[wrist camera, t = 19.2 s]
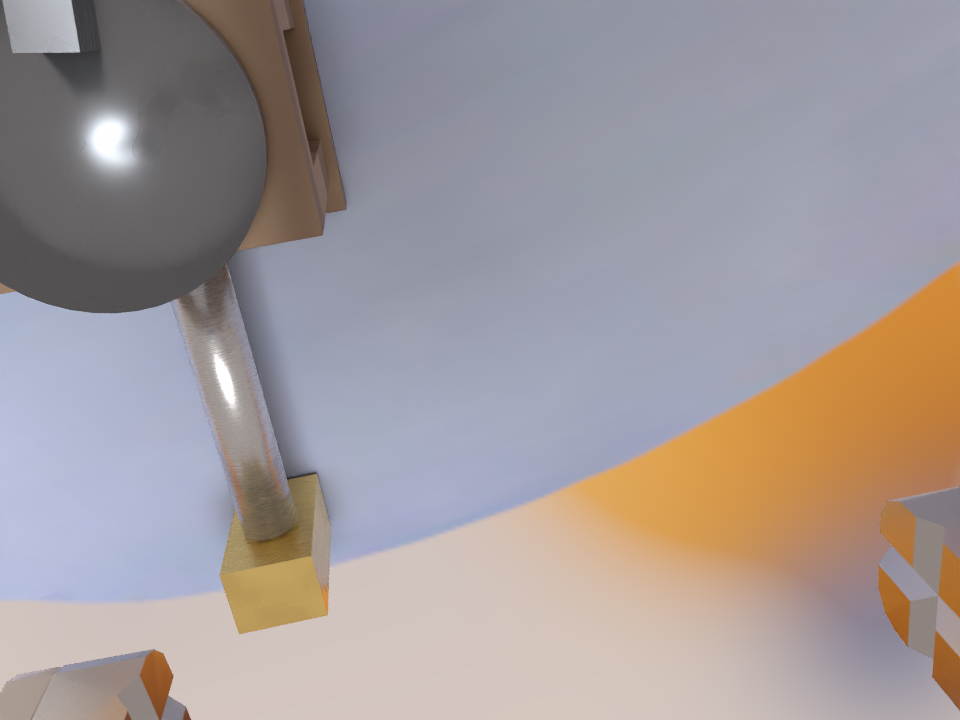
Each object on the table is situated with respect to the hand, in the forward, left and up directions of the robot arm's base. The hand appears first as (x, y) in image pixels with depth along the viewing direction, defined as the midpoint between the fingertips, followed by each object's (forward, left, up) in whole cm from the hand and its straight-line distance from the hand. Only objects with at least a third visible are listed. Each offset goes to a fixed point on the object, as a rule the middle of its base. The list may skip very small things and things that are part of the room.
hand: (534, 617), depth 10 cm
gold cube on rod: (+10, +11, -36) cm, 38 cm away
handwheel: (+9, -6, -23) cm, 26 cm away
